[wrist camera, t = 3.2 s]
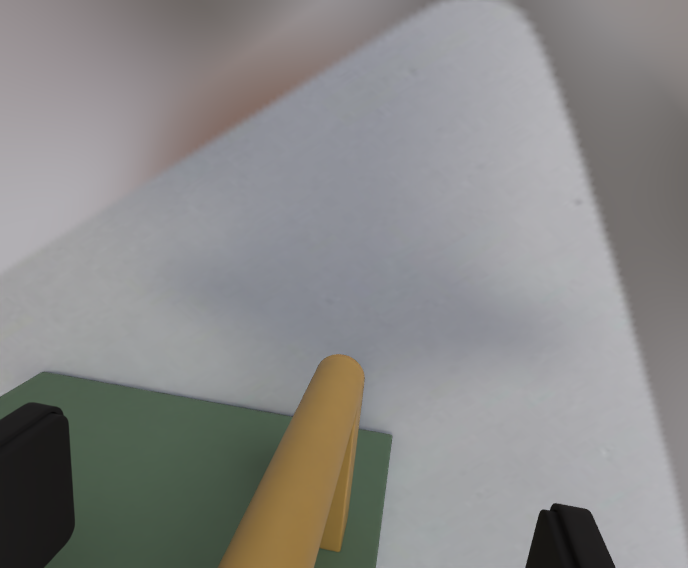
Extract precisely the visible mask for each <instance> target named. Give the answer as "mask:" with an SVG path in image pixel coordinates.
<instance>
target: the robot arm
mask: <svg viewBox="0 0 688 568" xmlns="http://www.w3.org/2000/svg"><path fill="white" fill-rule="evenodd" d="M74 527H75V513H74V497H73V481H72V466H71V450H70V435H69V422H68V419H67V417H66V416H64V415H63V411H62V410H61V408H59V407H56V406H51V405H46V404H41V403H35V402H29V403H27V404H24V405H23V406H21V407H19V408H18V409H16V410H15V411H13V412H11V413H10V414H8V415H7V416H5V417H3V418H2V419H0V568H44V567H45V566H46V565H47V564H48V563H49V562H50V561H51V560H52V559H53V558H54V557H55V555H56V554H57V553H58V552H59V551H60V550H61V549H62V548H63V547H64V546H65V545H66V543H67V542H68V541H69V539H70V538H71V536H72V533H73V531H74ZM525 568H615V565H614V563H613V561H612V559H611V556H610V554H609V552H608V550H607V547H606V545H605V543H604V541H603V538H602V536H601V534H600V532H599V529H598V527H597V525H596V523H595V520H594V518H593V516H592V514H591V512H590V511H589V510H587V509H583V508H578V507H573V506H568V505H563V504H557V503H555V504H553V505H552V506H551V509H550V511H549V510H541V511H540V513H539V516H538V520H537V524H536V528H535V532H534V536H533V540H532V544H531V548H530V552H529V555H528V559H527V563H526V567H525Z"/></svg>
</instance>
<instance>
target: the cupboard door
mask: <svg viewBox="0 0 688 568" xmlns="http://www.w3.org/2000/svg"><path fill="white" fill-rule="evenodd" d="M364 380H365V377H364V372H363V369H362V368H361V366H360V365H359V363H358V362H357V361H355V360H354V359H353V358H351V357H349V356H346V355H341V354H336V355H331V356H328V357H326V358H325V359H323V360H322V361H321V362H320V364H319V365H318V367H317V369H316V371H315V373H314V375H313V377H312V379H311V381H310V383H309V385H308V387H307V389H306V391H305V393H304V395H303V398H302V400H301V402H300V404H299V406H298V408H297V410H296V412H295V414H294V416H293V417H290V416H285V415H279V414H274V413H268V412H263V411H257V410H252V409H246V408H241V407H235V406H230V405H224V404H219V403H213V402H208V401H202V400H197V399H191V398H186V397H180V396H175V395H169V394H164V393H158V392H153V391H147V390H141V389H136V388H130V387H125V386H119V385H114V384H108V383H103V382H97V381H92V380H86V379H81V378H75V377H70V376H64V375H59V374H53V373H48V372H42V373H40V374H38V375H36V376H35V377H33V378H31V379H30V380H28V381H26V382H25V383H23V384H21V385H20V386H18V387H16V388H14V389H13V390H11V391H9V392H8V393H6V394H4V395H3V396H1V397H0V419H2V418H3V417H5V416H7V415H8V414H10V413H11V412H13V411H15V410H16V409H18V408H19V407H21V406H23V405H24V404H27V403H29V402H35V403H41V404H46V405H51V406H56V407H59V408H61V410H62V411H63V415H64V416H66V417H67V419H68V422H69V435H70V450H71V466H72V481H73V497H74V513H75V527H74V531H73V533H72V536H71V538H70V539H69V541H68V542H67V543H66V545H65V546H64V547H63V548H62V549H61V550H60V551H59V552H58V553H57V554H56V555H55V557H54V558H53V559H52V560H51V561H50V562H49V563H48V564H47V565H46V566H45V567H44V568H376V561H377V553H378V546H379V538H380V530H381V522H382V514H383V506H384V498H385V490H386V482H387V475H388V467H389V459H390V451H391V443H392V435H389V434H384V433H378V432H373V431H367V430H362V429H359V421H360V413H361V405H362V397H363V388H364Z"/></svg>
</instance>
